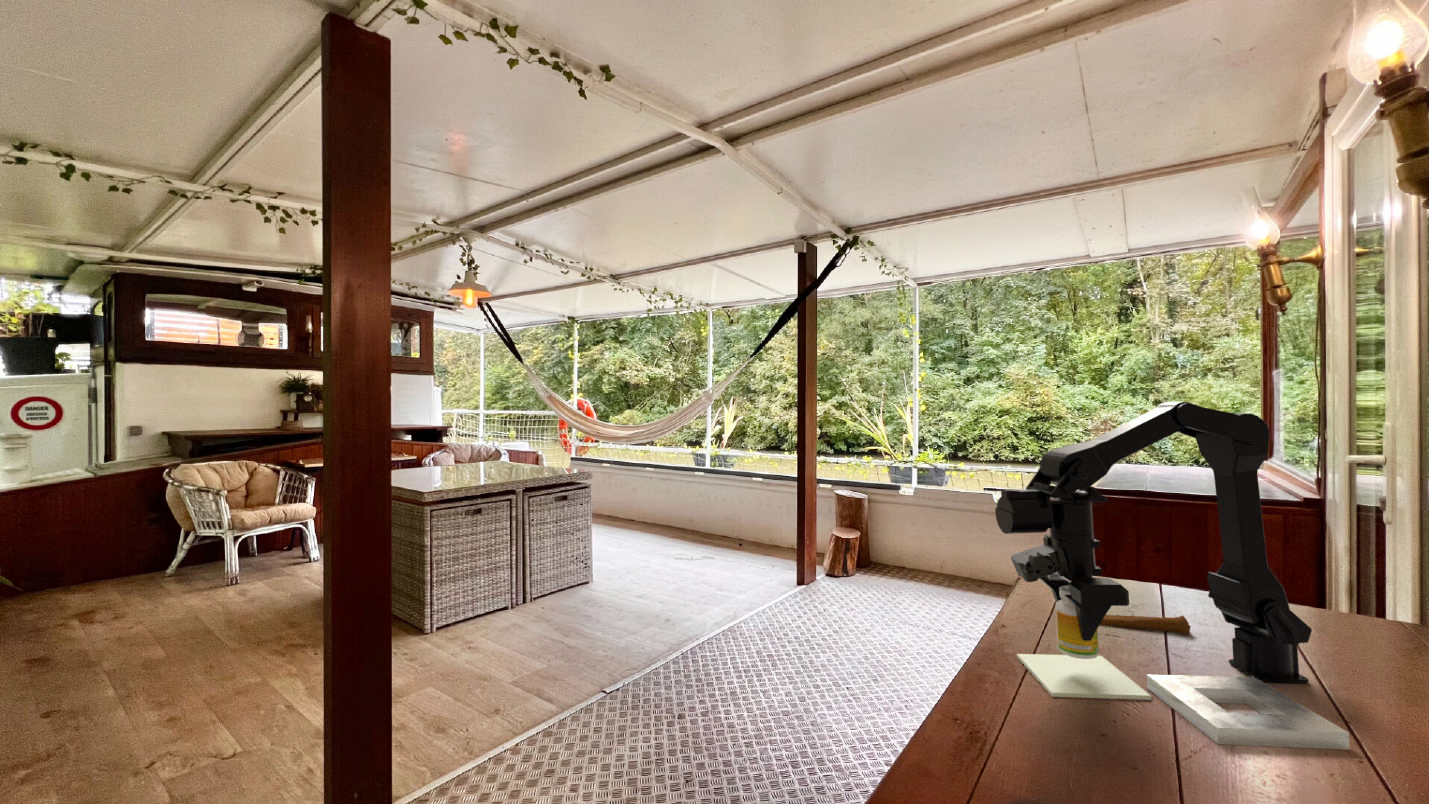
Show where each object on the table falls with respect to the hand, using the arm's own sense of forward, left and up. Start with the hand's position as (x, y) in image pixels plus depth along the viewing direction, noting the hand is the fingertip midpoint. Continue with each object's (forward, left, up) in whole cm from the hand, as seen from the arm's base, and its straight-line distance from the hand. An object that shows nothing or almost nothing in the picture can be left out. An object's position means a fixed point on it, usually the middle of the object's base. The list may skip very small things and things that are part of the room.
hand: (1077, 632), depth 87 cm
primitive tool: (-18, -22, -8) cm, 29 cm away
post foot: (-15, +10, -7) cm, 19 cm away
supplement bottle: (0, 0, -3) cm, 3 cm away
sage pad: (0, 0, -7) cm, 7 cm away
